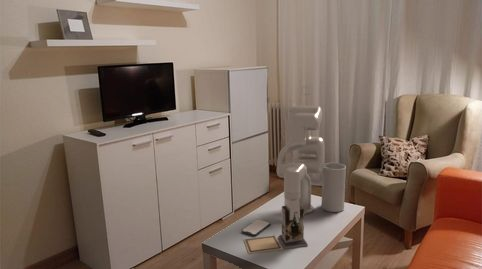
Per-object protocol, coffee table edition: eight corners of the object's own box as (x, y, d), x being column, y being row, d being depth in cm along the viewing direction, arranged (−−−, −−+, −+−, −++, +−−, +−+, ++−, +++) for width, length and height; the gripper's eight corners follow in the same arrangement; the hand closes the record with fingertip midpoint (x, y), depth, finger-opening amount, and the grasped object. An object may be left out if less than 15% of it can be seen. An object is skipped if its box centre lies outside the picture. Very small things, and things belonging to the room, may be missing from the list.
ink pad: (278, 237, 182) (278, 234, 182) (299, 234, 184) (299, 232, 184) (284, 249, 172) (284, 246, 171) (307, 246, 174) (307, 243, 173)
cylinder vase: (327, 201, 221) (329, 161, 215) (347, 207, 213) (349, 165, 207) (317, 208, 211) (318, 166, 206) (338, 214, 204) (340, 171, 198)
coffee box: (285, 243, 174) (285, 211, 170) (281, 236, 180) (280, 205, 176) (304, 240, 175) (304, 209, 172) (299, 234, 182) (299, 203, 178)
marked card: (243, 239, 181) (243, 238, 181) (275, 235, 184) (275, 234, 184) (248, 253, 169) (248, 252, 169) (282, 249, 172) (282, 248, 171)
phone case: (257, 221, 201) (240, 233, 188) (257, 218, 201) (240, 230, 188) (271, 225, 196) (255, 238, 183) (271, 222, 196) (255, 235, 183)
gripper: (279, 188, 180) (279, 222, 184) (290, 202, 163) (290, 239, 168) (294, 186, 181) (294, 220, 185) (306, 200, 165) (306, 237, 169)
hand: (292, 229), depth 176 cm, fingers closed on coffee box, 6 cm apart
